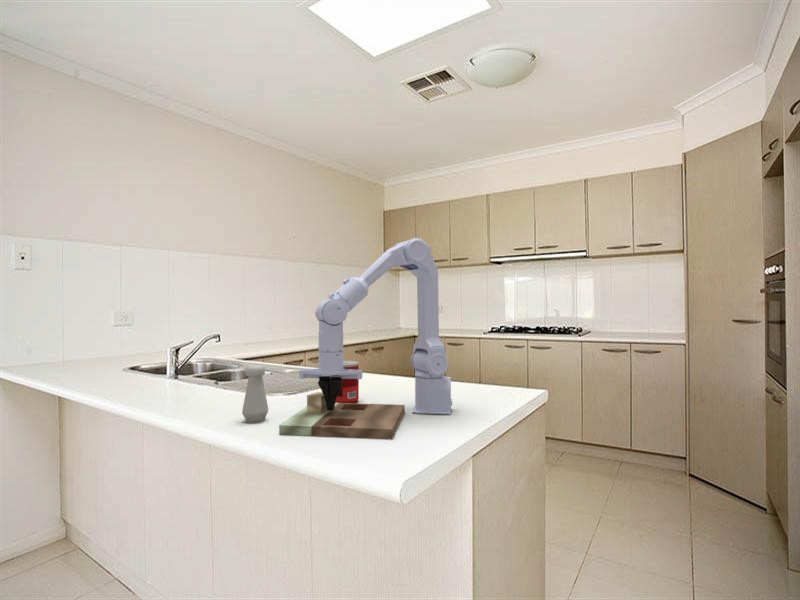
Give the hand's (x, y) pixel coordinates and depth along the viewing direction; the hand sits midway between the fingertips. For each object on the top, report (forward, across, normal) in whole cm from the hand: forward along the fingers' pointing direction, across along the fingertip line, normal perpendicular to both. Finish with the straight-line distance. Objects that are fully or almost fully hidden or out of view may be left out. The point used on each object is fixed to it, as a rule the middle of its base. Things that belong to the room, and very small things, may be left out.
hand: (330, 409), depth 104 cm
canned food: (+3, +1, -21) cm, 21 cm away
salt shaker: (+3, +18, 0) cm, 18 cm away
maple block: (+1, +3, -2) cm, 4 cm away
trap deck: (+3, -4, 0) cm, 5 cm away
